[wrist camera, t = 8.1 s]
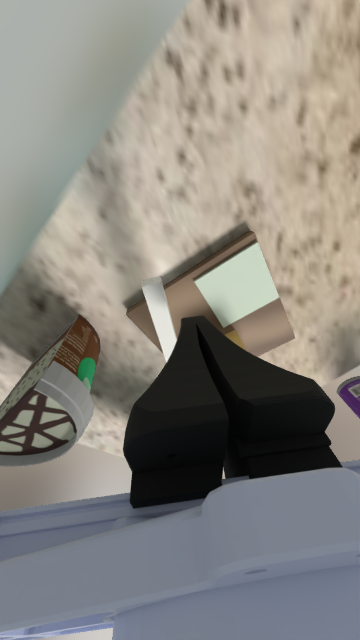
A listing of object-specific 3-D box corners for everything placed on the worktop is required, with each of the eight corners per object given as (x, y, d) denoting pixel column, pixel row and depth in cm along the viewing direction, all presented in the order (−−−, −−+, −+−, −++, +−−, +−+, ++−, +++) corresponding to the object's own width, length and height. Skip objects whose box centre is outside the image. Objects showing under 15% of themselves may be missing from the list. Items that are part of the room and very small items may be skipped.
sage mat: (277, 296, 21) (279, 297, 20) (222, 326, 22) (223, 327, 22) (256, 241, 18) (258, 242, 17) (193, 280, 19) (194, 281, 19)
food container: (72, 391, 27) (33, 481, 19) (26, 369, 24) (-45, 463, 16) (134, 338, 23) (120, 421, 15) (87, 305, 20) (38, 384, 12)
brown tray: (290, 333, 25) (324, 368, 20) (193, 381, 28) (201, 422, 23) (249, 230, 18) (285, 245, 13) (127, 309, 21) (117, 346, 16)
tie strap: (166, 274, 13) (167, 281, 12) (196, 397, 20) (198, 407, 19) (136, 281, 13) (134, 288, 12) (177, 401, 20) (178, 412, 19)
